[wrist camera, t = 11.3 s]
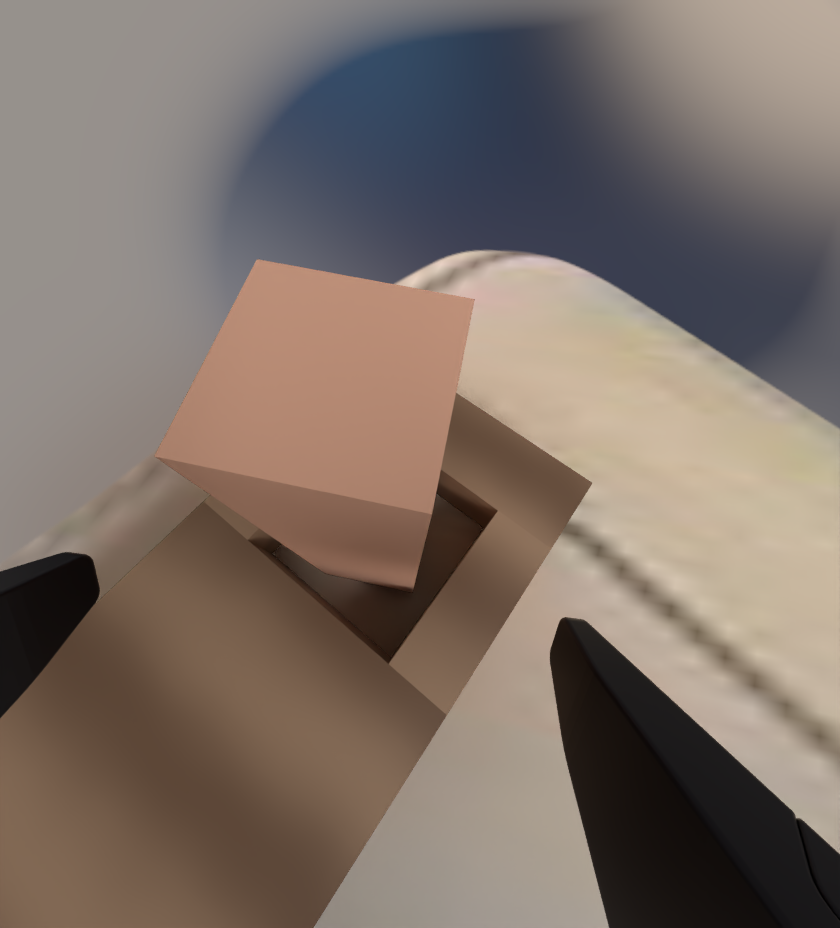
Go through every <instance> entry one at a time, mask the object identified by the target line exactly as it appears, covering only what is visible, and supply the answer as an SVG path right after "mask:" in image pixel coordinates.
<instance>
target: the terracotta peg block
mask: <svg viewBox="0 0 840 928" xmlns="http://www.w3.org/2000/svg"><path fill="white" fill-rule="evenodd" d="M474 300H475V299H470V298H465V297H459V296H454V295H448V294H443V293H438V292H432V291H427V290H421V289H416V288H410V287H405V286H400V285H394V284H389V283H383V282H378V281H372V280H367V279H361V278H356V277H351V276H345V275H339V274H334V273H328V272H324V271H318V270H312V269H307V268H302V267H296V266H291V265H286V264H280V263H275V262H269V261H264V260H258V259H257V261H256V262H255V264H254V266H253V268H252V270H251V272H250V274H249V276H248V278H247V280H246V281H245V283H244V285H243V287H242V289H241V291H240V293H239V295H238V297H237V299H236V301H235V303H234V304H233V306H232V309H231V310H230V312H229V314H228V316H227V318H226V320H225V322H224V324H223V326H222V327H221V329H220V331H219V333H218V335H217V337H216V339H215V341H214V343H213V345H212V347H211V349H210V351H209V352H208V354H207V356H206V358H205V360H204V362H203V364H202V366H201V368H200V370H199V372H198V373H197V375H196V377H195V379H194V381H193V383H192V385H191V387H190V389H189V391H188V392H187V394H186V396H185V398H184V400H183V402H182V404H181V406H180V408H179V410H178V412H177V414H176V415H175V418H174V419H173V421H172V423H171V425H170V427H169V429H168V431H167V433H166V435H165V437H164V439H163V441H162V442H161V444H160V446H159V448H158V450H157V452H156V454H155V457H156V458H158V459H159V460H160V461H162V462H163V463H165V464H166V465H168V466H169V467H171V468H172V469H174V470H175V471H176V472H178V473H179V474H181V475H182V476H184V477H185V478H187V479H188V480H190V481H191V482H192V483H194V484H195V485H197V486H198V487H200V488H201V489H203V490H204V491H206V492H207V493H209V494H210V495H211V496H213V497H214V498H216V499H217V500H219V501H220V502H222V503H223V504H225V505H226V506H227V507H229V508H230V509H232V510H233V511H235V512H236V513H238V514H239V515H241V516H242V517H243V518H245V519H246V520H248V521H249V522H251V523H252V524H254V525H255V526H257V527H258V528H260V529H261V530H262V531H264V532H265V533H267V534H268V535H270V536H271V537H273V538H274V539H276V540H277V541H278V542H280V543H281V544H283V545H284V546H286V547H287V548H289V549H290V550H292V551H293V552H295V553H296V554H297V555H299V556H300V557H302V558H303V559H305V560H306V561H308V562H309V563H311V564H312V565H313V566H315V567H316V568H318V569H319V570H321V571H322V572H324V573H325V574H329V575H334V576H338V577H343V578H347V579H352V580H357V581H361V582H366V583H370V584H375V585H380V586H384V587H389V588H393V589H398V590H402V591H407V592H413V588H414V584H415V580H416V576H417V572H418V568H419V564H420V560H421V556H422V552H423V548H424V544H425V540H426V536H427V532H428V528H429V524H430V520H431V516H432V511H433V506H434V501H435V496H436V491H437V486H438V481H439V476H440V471H441V466H442V461H443V456H444V451H445V446H446V441H447V436H448V431H449V426H450V421H451V416H452V411H453V406H454V401H455V395H456V390H457V385H458V380H459V375H460V370H461V365H462V360H463V355H464V350H465V345H466V340H467V335H468V330H469V325H470V320H471V315H472V310H473V305H474Z"/></svg>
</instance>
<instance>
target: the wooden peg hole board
mask: <svg viewBox="0 0 840 928" xmlns="http://www.w3.org/2000/svg"><path fill="white" fill-rule="evenodd" d="M591 484H592V482H590V481H589V480H587V479H586V478H584V477H583V476H581V475H580V474H578V473H576V472H575V471H573V470H572V469H570V468H569V467H567V466H566V465H564V464H563V463H561V462H560V461H558V460H557V459H555V458H554V457H552V456H551V455H549V454H548V453H546V452H545V451H543V450H542V449H540V448H539V447H537V446H536V445H534V444H533V443H531V442H530V441H528V440H527V439H525V438H524V437H522V436H521V435H519V434H517V433H516V432H514V431H513V430H511V429H510V428H508V427H507V426H505V425H504V424H502V423H501V422H499V421H498V420H496V419H495V418H493V417H492V416H490V415H489V414H487V413H486V412H484V411H483V410H481V409H480V408H478V407H477V406H475V405H474V404H472V403H471V402H469V401H468V400H466V399H465V398H463V397H461V396H460V395H458V394H457V393H456V395H455V401H454V406H453V411H452V416H451V421H450V426H449V431H448V436H447V441H446V446H445V451H444V456H443V461H442V466H441V471H440V476H439V481H438V486H437V491H436V493H437V494H439V495H440V496H441V497H443V498H444V499H445V500H447V501H448V502H449V503H451V504H452V505H454V506H455V507H456V508H458V509H459V510H460V511H462V512H463V513H464V514H466V515H467V516H468V517H470V518H471V519H473V520H474V521H475V522H477V523H478V524H479V525H481V526H482V527H483V528H484V529H483V530H482V531H481V533H480V534H479V536H478V537H477V538H476V540H475V541H474V543H473V544H472V545H471V547H470V548H469V550H468V551H467V552H466V554H465V555H464V557H463V558H462V559H461V561H460V562H459V564H458V565H457V566H456V568H455V569H454V571H453V572H452V573H451V575H450V576H449V578H448V579H447V580H446V582H445V583H444V585H443V586H442V587H441V589H440V590H439V592H438V593H437V594H436V596H435V597H434V599H433V600H432V601H431V603H430V604H429V606H428V607H427V608H426V610H425V611H424V613H423V614H422V615H421V617H420V618H419V620H418V621H417V622H416V624H415V625H414V627H413V628H412V629H411V631H410V632H409V633H408V635H407V636H406V638H405V639H404V640H403V642H402V643H401V645H400V646H399V647H398V649H397V650H396V652H395V653H394V654H393V656H392V657H390V656H389V655H387V654H386V653H385V652H384V651H383V650H382V649H381V648H379V647H378V646H377V645H376V644H375V643H374V642H372V641H371V640H370V639H369V638H368V637H367V636H366V635H364V634H363V633H362V632H361V631H360V630H359V629H358V628H356V627H355V626H354V625H353V624H352V623H351V622H350V621H348V620H347V619H346V618H345V617H344V616H343V615H342V614H340V613H339V612H338V611H337V610H336V609H335V608H334V607H332V606H331V605H330V604H329V603H328V602H327V601H326V600H324V599H323V598H322V597H321V596H320V595H319V594H318V593H316V592H315V591H314V590H313V589H312V588H311V587H310V586H308V585H307V584H306V583H305V582H304V581H303V580H301V579H300V578H299V577H298V576H297V575H296V574H295V573H293V572H292V571H291V570H290V569H289V568H288V567H287V566H285V565H284V564H283V563H282V562H281V561H280V560H279V559H277V558H276V557H275V556H274V555H273V554H272V553H273V552H274V551H275V550H276V549H277V547H278V546H279V545H280V544H281V543H280V542H278V541H277V540H276V539H274V538H273V537H271V536H270V535H268V534H267V533H265V532H264V531H262V530H261V529H260V528H258V527H257V526H255V525H254V524H252V523H251V522H249V521H248V520H246V519H245V518H243V517H242V516H241V515H239V514H238V513H236V512H235V511H233V510H232V509H230V508H229V507H227V506H226V505H225V504H223V503H222V502H220V501H219V500H217V499H216V498H214V497H213V496H211V495H210V496H209V497H208V498H206V499H205V500H204V501H203V502H202V503H201V504H200V505H199V506H198V507H197V508H196V509H195V510H194V511H193V512H192V513H191V514H190V515H189V516H188V517H186V518H185V519H184V520H183V521H182V522H181V523H180V524H179V525H178V526H177V527H176V528H175V529H174V530H173V531H172V532H171V533H170V534H169V535H167V536H166V537H165V538H164V539H163V540H162V541H161V542H160V543H159V544H158V545H157V546H156V547H155V548H154V549H153V550H152V551H151V552H150V553H149V554H147V555H146V556H145V557H144V558H143V559H142V560H141V561H140V562H139V563H138V564H137V565H136V566H135V567H134V568H133V569H132V570H131V571H130V572H128V573H127V574H126V575H125V576H124V577H123V578H122V579H121V580H120V581H119V582H118V583H117V584H116V585H115V586H114V587H113V588H112V589H111V590H110V591H108V592H107V593H106V594H105V595H104V596H103V597H102V598H101V599H100V600H99V601H98V602H97V603H96V604H95V605H94V606H93V607H92V608H91V609H90V611H89V612H88V613H87V614H86V616H85V617H84V618H83V620H82V621H81V622H80V623H79V625H78V626H77V627H76V629H75V630H74V631H73V632H72V634H71V635H70V636H69V637H68V639H67V640H66V641H65V643H64V644H63V645H62V646H61V648H60V649H59V650H58V652H57V653H56V654H55V655H54V657H53V658H52V659H51V661H50V662H49V663H48V664H47V666H46V667H45V668H44V669H43V671H42V672H41V673H40V674H39V676H38V677H37V678H36V679H35V680H34V682H33V683H32V684H31V685H30V686H29V687H28V688H27V690H26V691H25V692H24V693H23V694H22V695H21V696H20V697H19V699H18V700H17V701H16V702H15V703H14V704H13V705H12V706H11V707H10V708H9V710H8V711H7V712H6V713H5V714H4V715H3V716H2V717H1V718H0V928H313V927H314V926H315V924H316V923H317V921H318V919H319V918H320V916H321V915H322V913H323V911H324V910H325V908H326V907H327V905H328V903H329V902H330V900H331V899H332V897H333V895H334V894H335V892H336V891H337V889H338V887H339V886H340V884H341V883H342V881H343V880H344V878H345V876H346V875H347V873H348V872H349V870H350V868H351V867H352V865H353V864H354V862H355V860H356V859H357V857H358V856H359V854H360V852H361V851H362V849H363V848H364V846H365V844H366V843H367V841H368V840H369V838H370V837H371V835H372V833H373V832H374V830H375V829H376V827H377V825H378V824H379V822H380V821H381V819H382V817H383V816H384V814H385V813H386V811H387V809H388V808H389V806H390V805H391V803H392V801H393V800H394V798H395V797H396V795H397V794H398V792H399V790H400V789H401V787H402V786H403V784H404V782H405V781H406V779H407V778H408V776H409V774H410V773H411V771H412V770H413V768H414V766H415V765H416V763H417V762H418V760H419V758H420V757H421V755H422V754H423V752H424V750H425V749H426V747H427V746H428V744H429V743H430V741H431V739H432V738H433V736H434V735H435V733H436V731H437V730H438V728H439V727H440V725H441V723H442V722H443V720H444V719H445V717H446V715H447V714H448V712H449V711H450V709H451V707H452V706H453V704H454V703H455V701H456V700H457V698H458V696H459V695H460V693H461V692H462V690H463V688H464V687H465V685H466V684H467V682H468V680H469V679H470V677H471V676H472V674H473V672H474V671H475V669H476V668H477V666H478V664H479V663H480V661H481V660H482V658H483V657H484V655H485V653H486V652H487V650H488V649H489V647H490V645H491V644H492V642H493V641H494V639H495V637H496V636H497V634H498V633H499V631H500V629H501V628H502V626H503V625H504V623H505V621H506V620H507V618H508V617H509V615H510V613H511V612H512V610H513V609H514V607H515V606H516V604H517V602H518V601H519V599H520V598H521V596H522V594H523V593H524V591H525V590H526V588H527V586H528V585H529V583H530V582H531V580H532V578H533V577H534V575H535V574H536V572H537V570H538V569H539V567H540V566H541V564H542V563H543V561H544V559H545V558H546V556H547V555H548V553H549V551H550V550H551V548H552V547H553V545H554V543H555V542H556V540H557V539H558V537H559V535H560V534H561V532H562V531H563V529H564V527H565V526H566V524H567V523H568V521H569V519H570V518H571V516H572V515H573V513H574V512H575V510H576V508H577V507H578V505H579V504H580V502H581V500H582V499H583V497H584V496H585V494H586V492H587V491H588V489H589V488H590V486H591Z"/></svg>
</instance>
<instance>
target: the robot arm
mask: <svg viewBox="0 0 840 928" xmlns="http://www.w3.org/2000/svg"><path fill="white" fill-rule="evenodd" d="M99 592H100V588H99V583H98V579H97V575H96V570H95V566H94V562H93V560H92V558H91V557H90V556H88V555H86V554H79V553H71V552H65V553H60V554H56V555H53V556H50V557H47V558H43V559H40V560H37V561H34V562H30V563H27V564H24V565H20V566H17V567H14V568H11V569H7V570H4V571H1V572H0V718H1V717H2V716H3V715H4V714H5V713H6V712H7V711H8V710H9V708H10V707H11V706H12V705H13V704H14V703H15V702H16V701H17V700H18V699H19V697H20V696H21V695H22V694H23V693H24V692H25V691H26V690H27V688H28V687H29V686H30V685H31V684H32V683H33V682H34V680H35V679H36V678H37V677H38V676H39V674H40V673H41V672H42V671H43V669H44V668H45V667H46V666H47V664H48V663H49V662H50V661H51V659H52V658H53V657H54V655H55V654H56V653H57V652H58V650H59V649H60V648H61V646H62V645H63V644H64V643H65V641H66V640H67V639H68V637H69V636H70V635H71V634H72V632H73V631H74V630H75V629H76V627H77V626H78V625H79V623H80V622H81V621H82V620H83V618H84V617H85V616H86V614H87V613H88V612H89V611H90V609H91V608H92V607H93V605H94V604H95V603H96V601H97V599H98V597H99ZM550 665H551V671H552V678H553V684H554V691H555V697H556V704H557V710H558V716H559V723H560V729H561V736H562V741H563V747H564V752H565V756H566V761H567V765H568V769H569V773H570V777H571V781H572V785H573V789H574V793H575V796H576V800H577V804H578V808H579V812H580V816H581V820H582V824H583V828H584V831H585V835H586V839H587V843H588V847H589V851H590V855H591V859H592V863H593V867H594V870H595V874H596V878H597V882H598V886H599V890H600V894H601V898H602V902H603V905H604V909H605V913H606V917H607V921H608V925H609V928H840V854H839V853H838V852H837V851H836V850H835V849H833V848H832V847H831V846H830V845H829V844H828V843H827V842H826V841H825V840H824V839H823V838H822V837H820V836H819V835H818V834H817V833H816V832H815V831H814V830H813V829H812V828H811V827H810V826H808V825H807V824H806V823H805V822H804V821H803V820H802V819H800V818H796V817H795V814H794V812H793V811H792V810H791V809H790V808H789V807H788V806H786V805H785V804H784V803H783V802H782V801H781V800H780V799H779V798H778V797H777V796H776V795H775V794H773V793H772V792H771V791H770V790H769V789H768V788H767V787H766V786H765V785H764V784H763V783H761V782H760V781H759V780H758V779H757V778H756V777H755V776H754V775H753V774H752V773H751V772H750V771H748V770H747V769H746V768H745V767H744V766H743V765H742V764H741V763H740V762H739V761H738V760H737V759H735V758H734V757H733V756H732V755H731V754H730V753H729V752H728V751H727V750H726V749H725V748H723V747H722V746H721V745H720V744H719V743H718V742H717V741H716V740H715V739H714V738H713V737H712V736H710V735H709V734H708V733H707V732H706V731H705V730H704V729H703V728H702V727H701V726H700V725H698V724H697V723H696V722H695V721H694V720H693V719H692V718H691V717H690V716H689V715H688V714H687V713H685V712H684V711H683V710H682V709H681V708H680V707H679V706H678V705H677V704H676V703H675V702H674V701H672V700H671V699H670V698H669V697H668V696H667V695H666V694H665V693H664V692H663V691H662V690H660V689H659V688H658V687H657V686H656V685H655V684H654V683H653V682H652V681H651V680H650V679H649V678H647V677H646V676H645V675H644V674H643V673H642V672H641V671H640V670H639V669H638V668H637V667H635V666H634V665H633V664H632V663H631V662H630V661H629V660H628V659H627V658H626V657H625V656H624V655H622V654H621V653H620V652H619V651H618V650H617V649H616V648H615V647H614V646H613V645H612V644H610V643H609V642H608V641H607V640H606V639H605V638H604V637H603V636H602V635H601V634H600V633H599V632H597V631H596V630H595V629H594V628H593V627H592V626H591V625H590V624H589V623H588V622H586V621H585V620H582V619H575V618H568V617H565V618H562V619H561V620H560V622H559V625H558V628H557V631H556V634H555V637H554V640H553V644H552V647H551V650H550Z"/></svg>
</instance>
